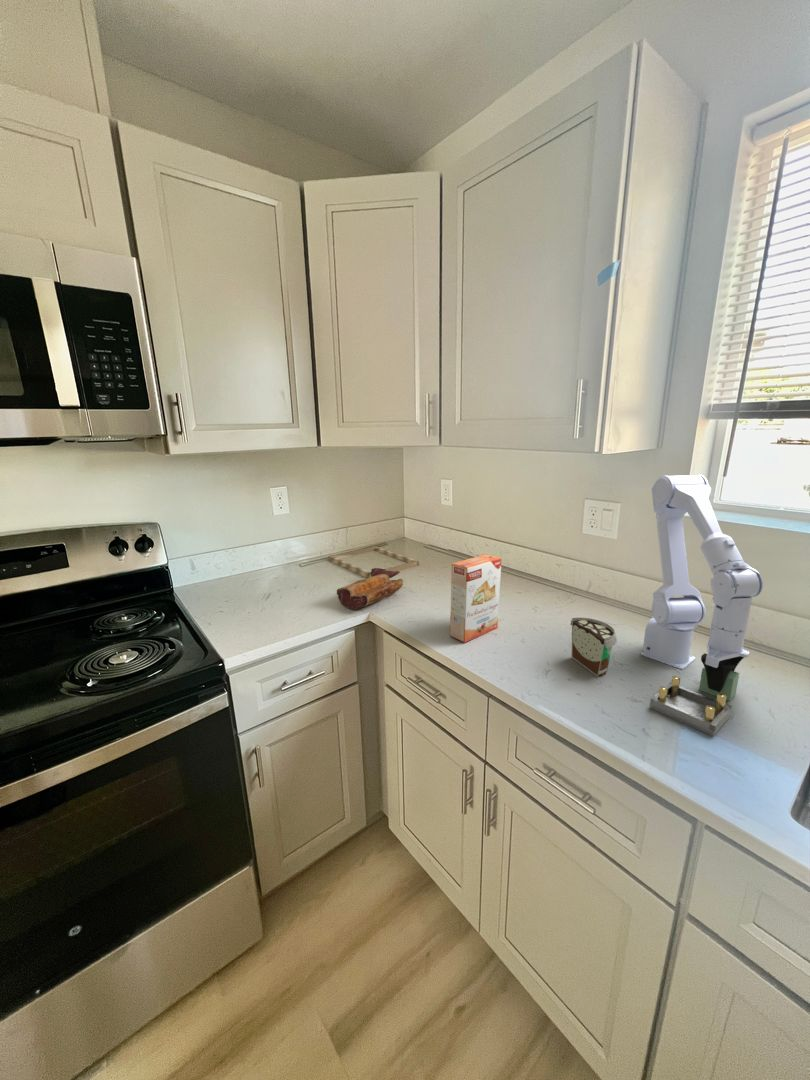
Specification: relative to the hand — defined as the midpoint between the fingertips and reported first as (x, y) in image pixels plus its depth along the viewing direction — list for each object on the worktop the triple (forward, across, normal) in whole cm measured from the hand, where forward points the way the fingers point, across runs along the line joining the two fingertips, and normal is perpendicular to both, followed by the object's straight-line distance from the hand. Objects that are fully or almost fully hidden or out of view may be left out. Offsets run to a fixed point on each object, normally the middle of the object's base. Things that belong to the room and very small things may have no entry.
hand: (718, 686), depth 92 cm
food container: (+2, -9, +22) cm, 24 cm away
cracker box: (+2, -18, +52) cm, 55 cm away
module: (+1, 0, 0) cm, 1 cm away
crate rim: (+1, -4, +122) cm, 122 cm away
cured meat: (-6, -24, +92) cm, 95 cm away
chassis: (+1, -12, +1) cm, 12 cm away
